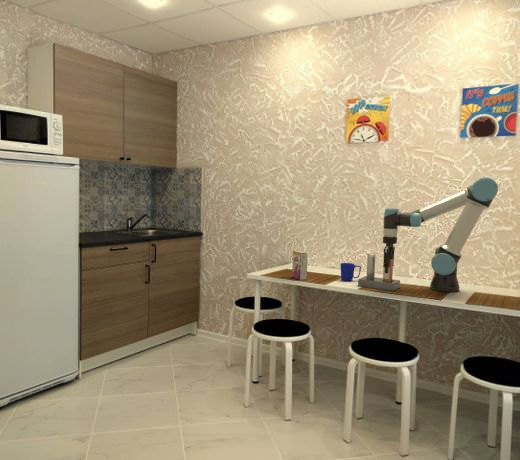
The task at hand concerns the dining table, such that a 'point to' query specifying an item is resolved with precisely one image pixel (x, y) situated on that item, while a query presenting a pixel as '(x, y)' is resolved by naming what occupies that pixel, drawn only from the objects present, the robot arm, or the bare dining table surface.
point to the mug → (348, 271)
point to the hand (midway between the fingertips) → (387, 278)
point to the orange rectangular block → (390, 272)
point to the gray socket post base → (375, 282)
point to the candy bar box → (299, 265)
